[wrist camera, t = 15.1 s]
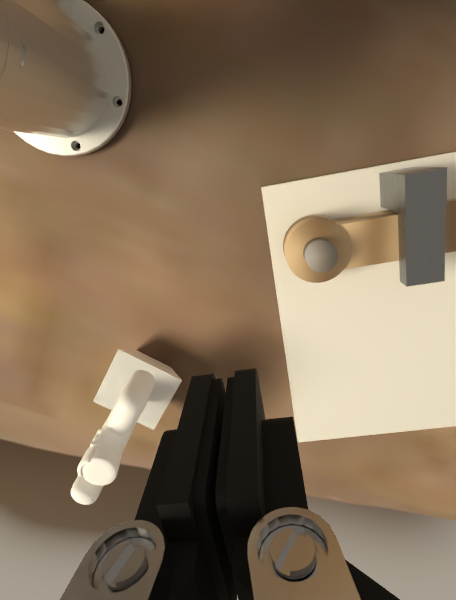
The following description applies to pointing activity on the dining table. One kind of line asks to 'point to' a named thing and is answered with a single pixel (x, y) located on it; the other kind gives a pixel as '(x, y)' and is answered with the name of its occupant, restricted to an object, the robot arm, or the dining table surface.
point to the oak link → (349, 242)
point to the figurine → (123, 416)
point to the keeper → (418, 220)
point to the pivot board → (362, 321)
